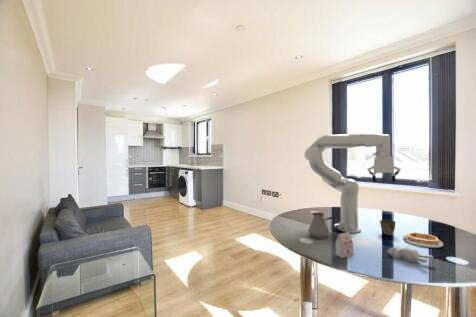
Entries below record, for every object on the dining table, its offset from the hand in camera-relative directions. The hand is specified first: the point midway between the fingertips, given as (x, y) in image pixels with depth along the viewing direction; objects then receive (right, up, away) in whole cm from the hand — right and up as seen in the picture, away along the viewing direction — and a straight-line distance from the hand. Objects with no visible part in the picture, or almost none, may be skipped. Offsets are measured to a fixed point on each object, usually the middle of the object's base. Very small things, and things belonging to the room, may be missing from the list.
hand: (383, 182), depth 137 cm
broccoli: (-4, -29, -9) cm, 31 cm away
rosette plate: (+6, -29, -21) cm, 37 cm away
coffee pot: (-41, -30, -14) cm, 53 cm away
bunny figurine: (-16, -30, -41) cm, 53 cm away
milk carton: (-41, -30, -35) cm, 62 cm away
